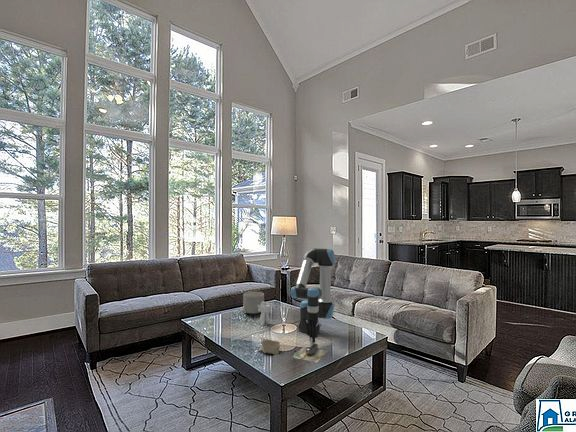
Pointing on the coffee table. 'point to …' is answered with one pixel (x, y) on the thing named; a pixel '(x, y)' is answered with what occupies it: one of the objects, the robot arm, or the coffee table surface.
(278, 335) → the coffee table surface
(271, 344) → the decorative stone
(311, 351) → the peg dial
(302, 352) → the tuner board
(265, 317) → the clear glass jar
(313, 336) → the robot arm
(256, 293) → the planter
